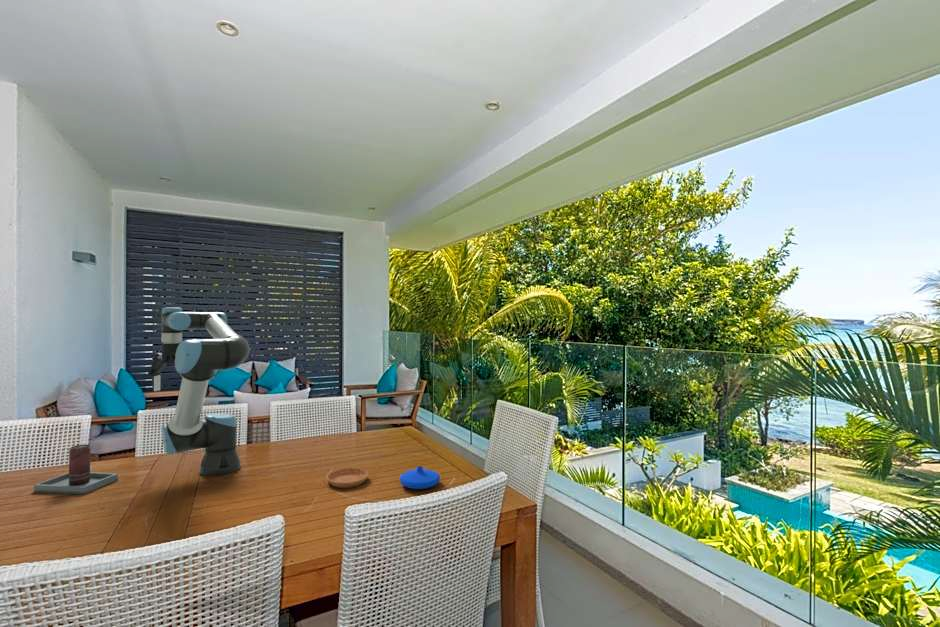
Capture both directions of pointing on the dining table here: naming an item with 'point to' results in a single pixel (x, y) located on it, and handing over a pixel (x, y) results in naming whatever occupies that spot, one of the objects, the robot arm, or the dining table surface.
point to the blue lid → (419, 478)
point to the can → (79, 465)
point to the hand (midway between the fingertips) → (171, 391)
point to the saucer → (347, 477)
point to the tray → (63, 486)
